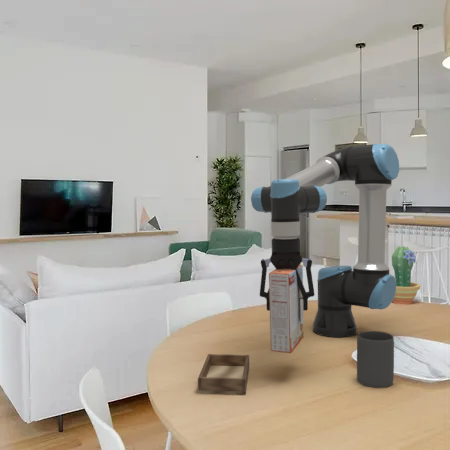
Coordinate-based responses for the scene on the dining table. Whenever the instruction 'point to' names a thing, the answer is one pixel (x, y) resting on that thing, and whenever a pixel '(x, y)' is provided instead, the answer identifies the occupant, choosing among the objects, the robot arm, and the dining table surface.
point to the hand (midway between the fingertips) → (287, 322)
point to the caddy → (224, 374)
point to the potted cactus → (404, 275)
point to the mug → (375, 359)
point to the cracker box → (285, 309)
